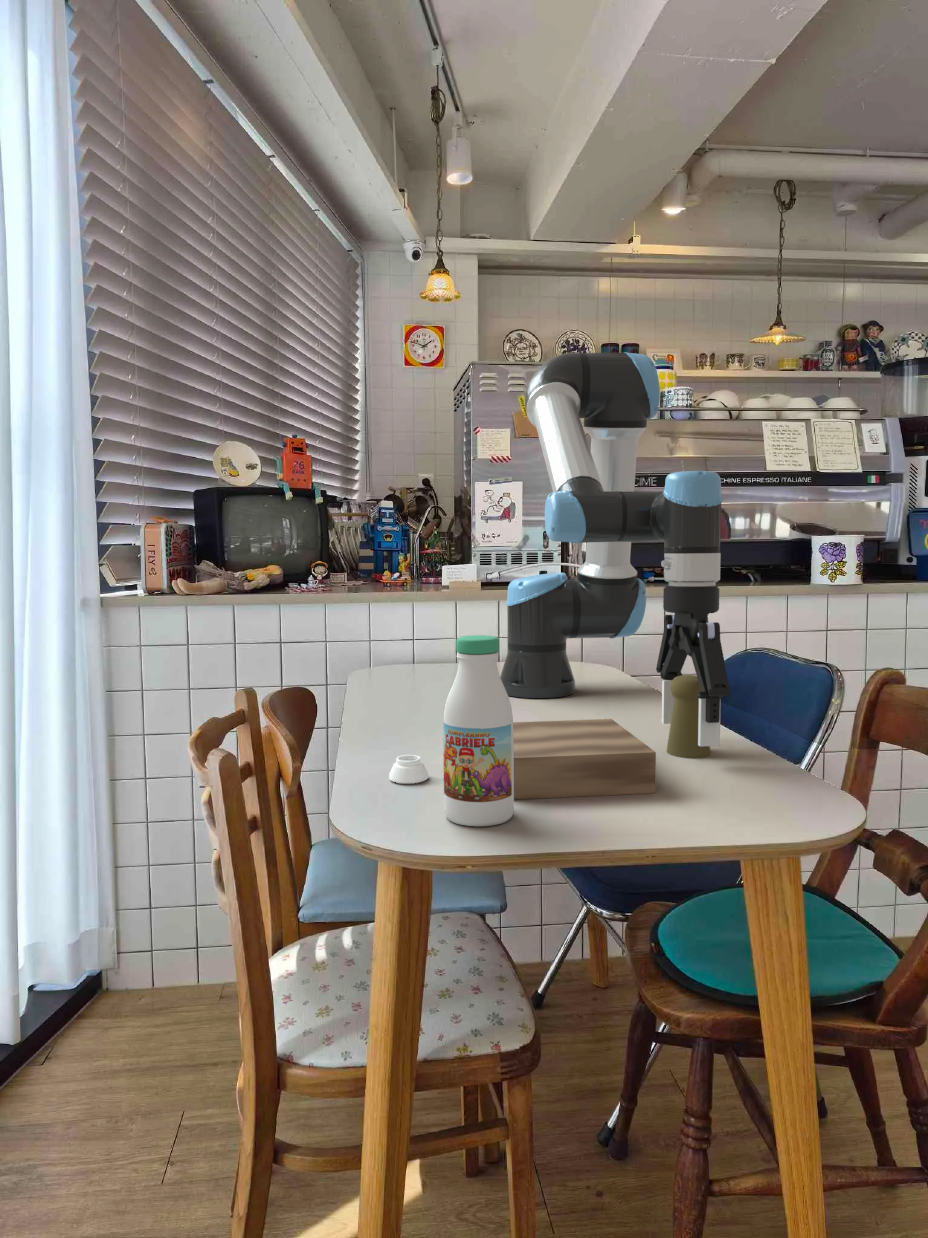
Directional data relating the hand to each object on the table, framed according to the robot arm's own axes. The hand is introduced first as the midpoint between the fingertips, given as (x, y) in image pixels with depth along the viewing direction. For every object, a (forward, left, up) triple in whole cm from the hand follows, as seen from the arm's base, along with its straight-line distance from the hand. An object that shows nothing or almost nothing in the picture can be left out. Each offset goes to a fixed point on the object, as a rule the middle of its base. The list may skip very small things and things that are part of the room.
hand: (688, 734), depth 114 cm
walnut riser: (+8, -20, -3) cm, 22 cm away
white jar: (+7, -40, -3) cm, 41 cm away
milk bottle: (+22, -33, -3) cm, 40 cm away
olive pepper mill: (0, 0, -3) cm, 3 cm away
